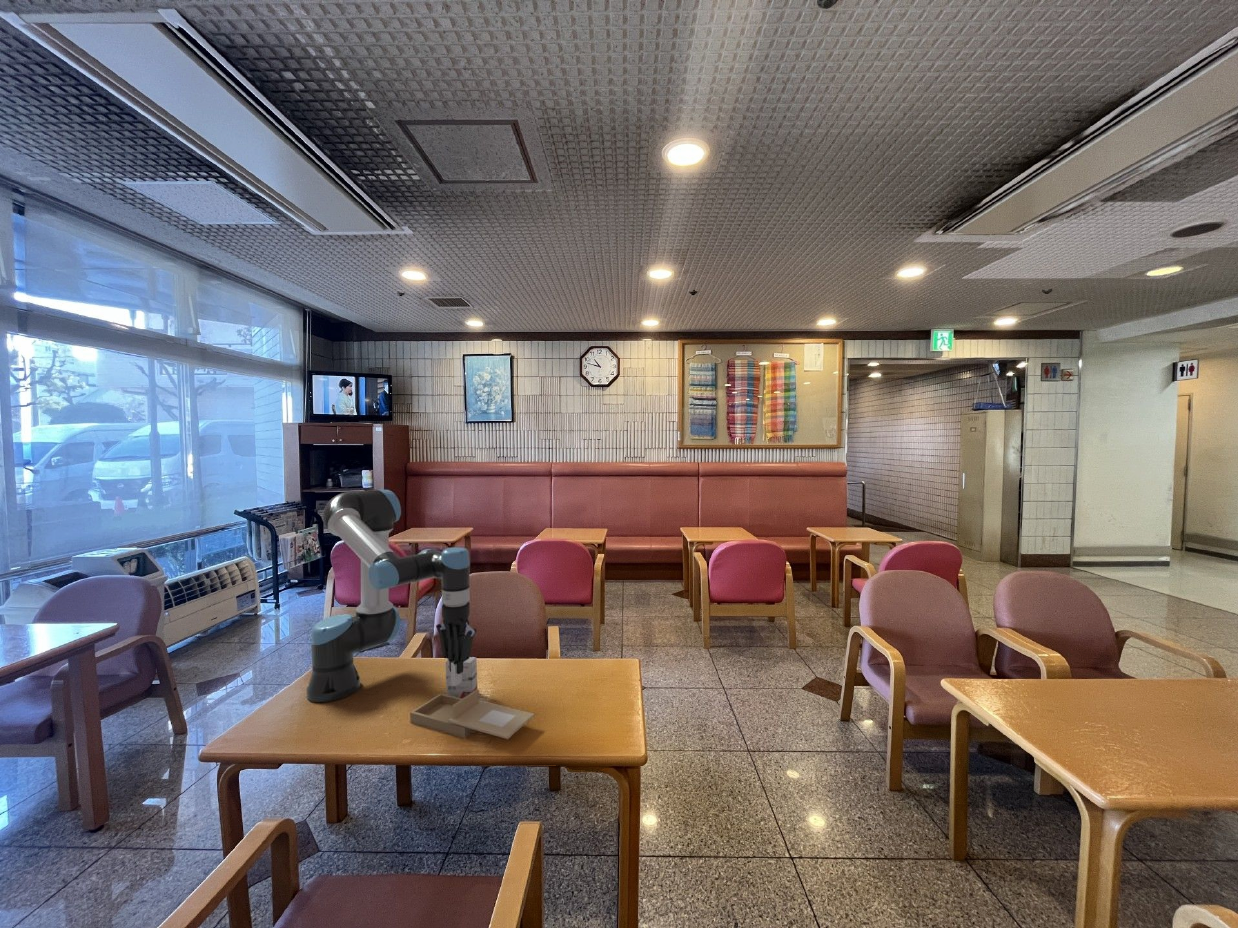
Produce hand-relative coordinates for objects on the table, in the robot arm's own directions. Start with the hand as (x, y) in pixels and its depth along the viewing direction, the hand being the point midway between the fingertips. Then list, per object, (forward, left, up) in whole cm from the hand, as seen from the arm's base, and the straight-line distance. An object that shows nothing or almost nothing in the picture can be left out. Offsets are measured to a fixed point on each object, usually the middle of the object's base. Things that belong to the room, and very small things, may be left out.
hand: (456, 683), depth 142 cm
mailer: (-2, 0, -11) cm, 11 cm away
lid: (+12, 0, -8) cm, 15 cm away
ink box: (-9, +12, -11) cm, 18 cm away
